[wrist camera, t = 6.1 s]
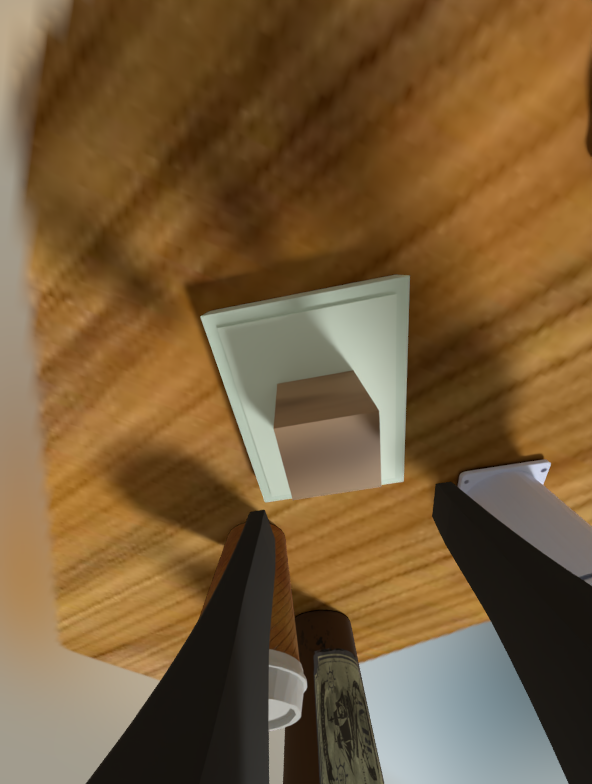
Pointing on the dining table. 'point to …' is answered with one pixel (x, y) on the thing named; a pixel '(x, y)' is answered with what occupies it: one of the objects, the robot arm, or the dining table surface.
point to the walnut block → (328, 435)
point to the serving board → (314, 362)
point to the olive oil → (330, 709)
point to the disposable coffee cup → (276, 635)
